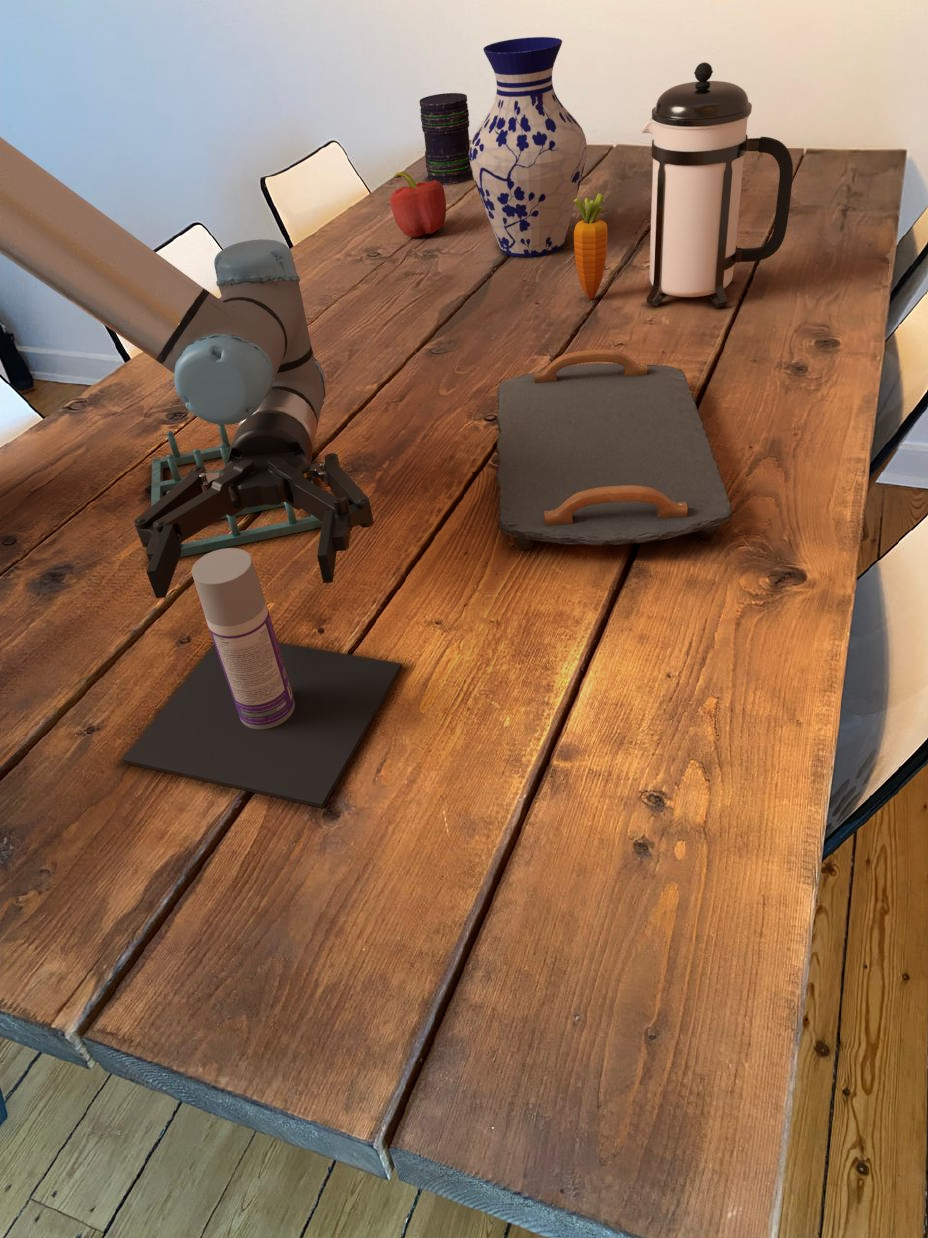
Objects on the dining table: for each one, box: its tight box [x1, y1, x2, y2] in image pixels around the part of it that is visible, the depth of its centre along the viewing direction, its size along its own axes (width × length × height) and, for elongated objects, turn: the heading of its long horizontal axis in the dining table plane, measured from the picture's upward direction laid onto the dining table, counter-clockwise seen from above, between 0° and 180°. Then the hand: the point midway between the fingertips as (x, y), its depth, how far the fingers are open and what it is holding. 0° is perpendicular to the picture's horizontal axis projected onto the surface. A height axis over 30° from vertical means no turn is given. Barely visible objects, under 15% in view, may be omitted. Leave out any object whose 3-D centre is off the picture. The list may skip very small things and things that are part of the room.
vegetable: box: [390, 171, 447, 238], centre depth 170 cm, size 11×10×10 cm
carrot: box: [573, 192, 608, 301], centre depth 137 cm, size 5×5×15 cm
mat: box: [122, 642, 403, 809], centre depth 79 cm, size 18×16×1 cm
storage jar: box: [418, 92, 474, 185], centre depth 195 cm, size 10×10×15 cm
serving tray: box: [495, 348, 733, 552], centre depth 104 cm, size 39×23×6 cm, turn 179°
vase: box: [469, 36, 588, 258], centre depth 153 cm, size 19×19×30 cm
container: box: [191, 547, 295, 729], centre depth 74 cm, size 5×5×15 cm
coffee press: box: [640, 62, 794, 309], centre depth 130 cm, size 17×16×30 cm
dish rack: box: [150, 424, 322, 558], centre depth 106 cm, size 18×21×4 cm
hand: (240, 577), depth 75 cm, fingers open, 13 cm apart
